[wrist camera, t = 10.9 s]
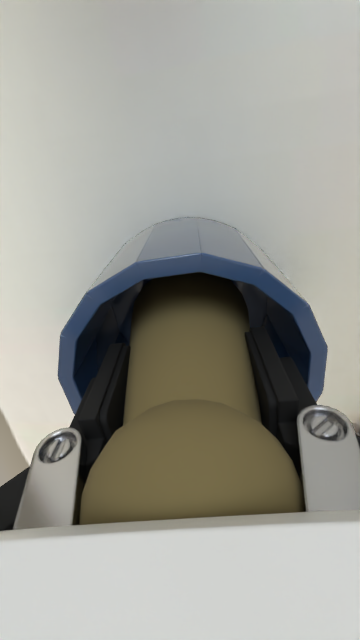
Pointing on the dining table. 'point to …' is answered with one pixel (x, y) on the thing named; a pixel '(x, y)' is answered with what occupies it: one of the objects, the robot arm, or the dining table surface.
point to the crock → (176, 259)
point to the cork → (190, 416)
